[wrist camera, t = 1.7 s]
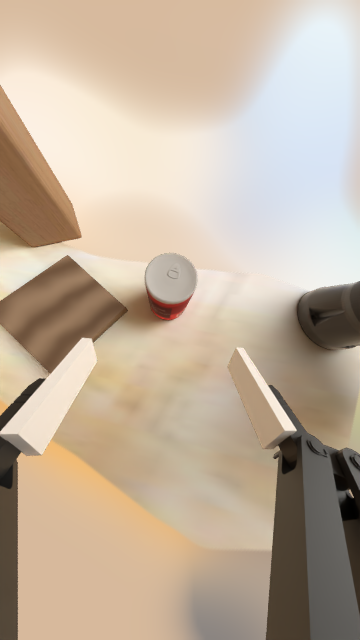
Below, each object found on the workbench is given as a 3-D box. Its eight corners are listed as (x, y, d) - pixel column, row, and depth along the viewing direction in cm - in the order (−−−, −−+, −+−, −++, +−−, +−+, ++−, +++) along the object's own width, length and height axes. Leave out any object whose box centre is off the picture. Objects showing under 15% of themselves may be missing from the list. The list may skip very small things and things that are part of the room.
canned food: (185, 288, 31) (198, 255, 21) (184, 322, 30) (198, 305, 19) (152, 284, 31) (147, 248, 20) (148, 319, 29) (141, 300, 18)
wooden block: (32, 248, 29) (-226, 40, 10) (24, 211, 31) (-210, -29, 11) (83, 238, 31) (-48, 49, 12) (72, 204, 33) (-56, -10, 13)
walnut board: (127, 310, 28) (125, 307, 27) (60, 372, 24) (51, 374, 22) (73, 261, 29) (67, 255, 27) (0, 313, 25) (-14, 310, 23)
